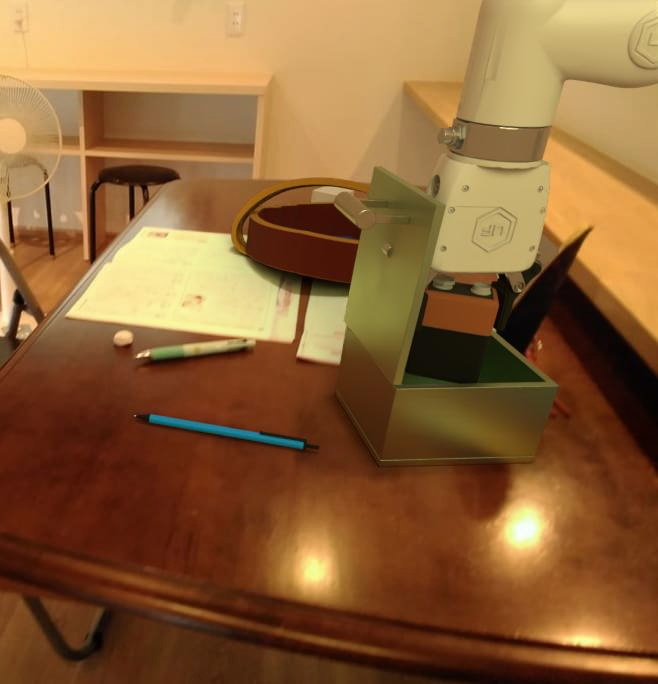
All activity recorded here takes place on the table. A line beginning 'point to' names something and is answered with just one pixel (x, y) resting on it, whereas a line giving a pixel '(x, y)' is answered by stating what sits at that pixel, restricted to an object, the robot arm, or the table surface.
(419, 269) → the bin lid
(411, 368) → the battery
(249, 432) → the pen
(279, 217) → the decorative basket
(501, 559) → the table surface
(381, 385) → the bin
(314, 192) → the white cube
